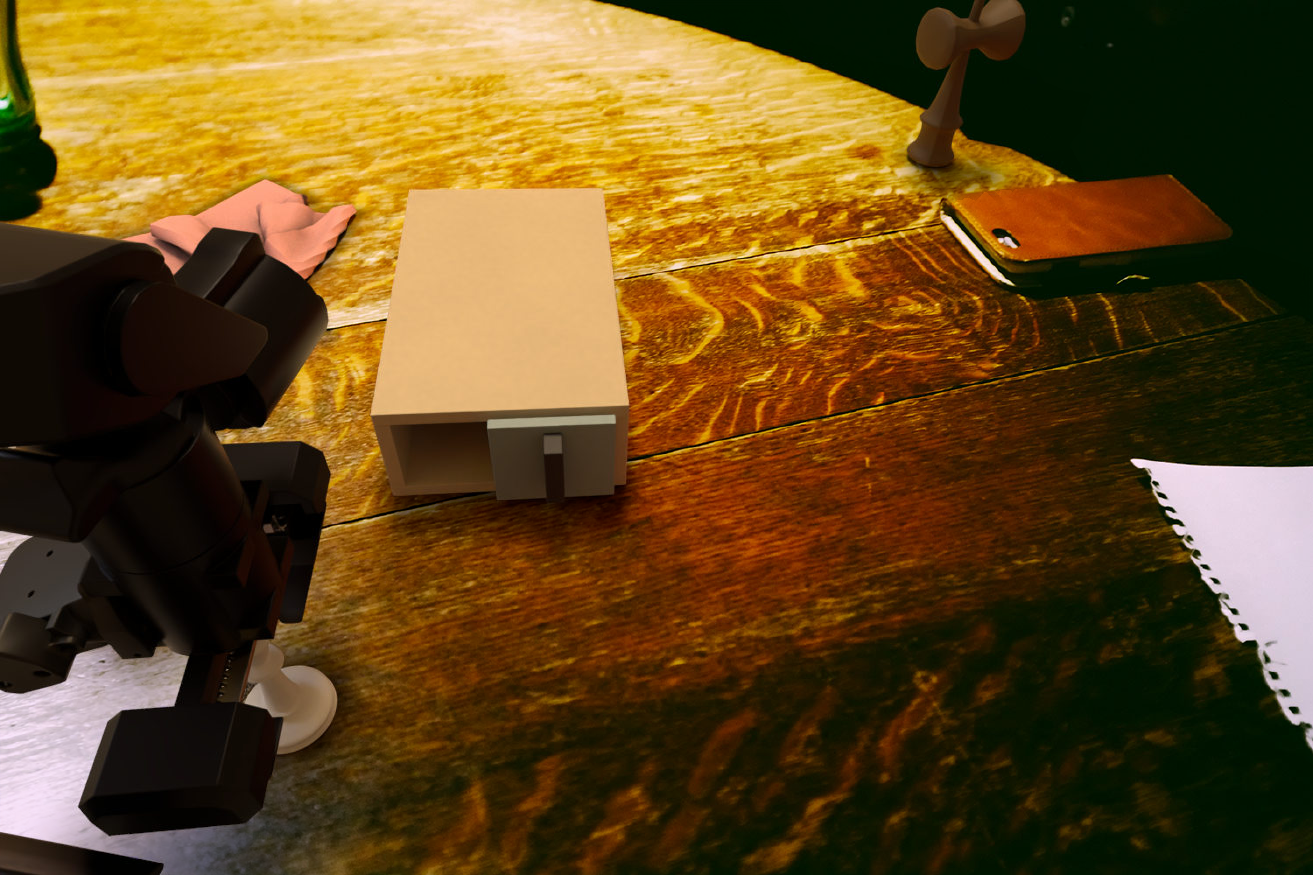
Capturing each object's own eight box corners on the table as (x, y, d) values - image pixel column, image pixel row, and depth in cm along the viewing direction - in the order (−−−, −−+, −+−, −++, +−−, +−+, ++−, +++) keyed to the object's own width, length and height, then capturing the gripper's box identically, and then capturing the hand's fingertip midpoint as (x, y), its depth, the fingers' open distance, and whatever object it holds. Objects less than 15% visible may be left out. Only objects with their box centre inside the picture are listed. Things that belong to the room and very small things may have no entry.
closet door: (616, 515, 56) (618, 444, 50) (496, 521, 55) (486, 450, 50) (613, 485, 57) (615, 414, 52) (497, 491, 57) (487, 419, 51)
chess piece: (299, 768, 44) (239, 683, 36) (223, 733, 45) (151, 642, 37) (355, 688, 47) (311, 595, 40) (283, 657, 48) (227, 560, 41)
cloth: (126, 348, 65) (113, 324, 63) (117, 205, 78) (105, 182, 76) (388, 290, 71) (382, 267, 70) (339, 168, 84) (333, 146, 83)
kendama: (978, 164, 92) (1051, -30, 78) (911, 180, 89) (974, -20, 74) (944, 139, 96) (1007, -51, 81) (878, 154, 93) (931, -42, 78)
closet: (625, 484, 58) (629, 405, 52) (393, 496, 56) (369, 415, 50) (602, 266, 76) (602, 187, 70) (423, 269, 74) (409, 189, 68)
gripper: (39, 360, 38) (168, 554, 49) (-199, 768, 25) (48, 900, 37) (292, 353, 39) (360, 543, 51) (184, 737, 27) (307, 874, 38)
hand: (278, 690), depth 44 cm, fingers open, 8 cm apart
